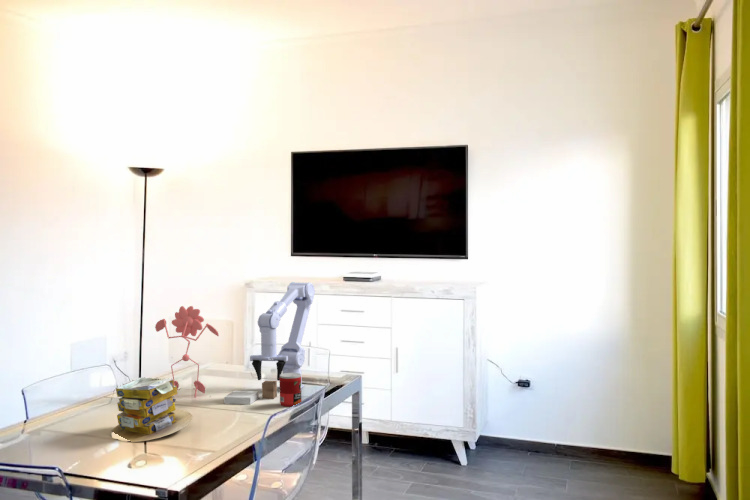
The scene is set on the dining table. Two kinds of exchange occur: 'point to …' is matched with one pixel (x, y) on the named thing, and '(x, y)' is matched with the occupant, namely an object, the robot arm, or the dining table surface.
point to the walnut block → (269, 389)
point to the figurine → (187, 324)
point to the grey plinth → (241, 397)
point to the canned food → (290, 389)
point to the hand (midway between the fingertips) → (269, 379)
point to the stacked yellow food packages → (149, 410)
